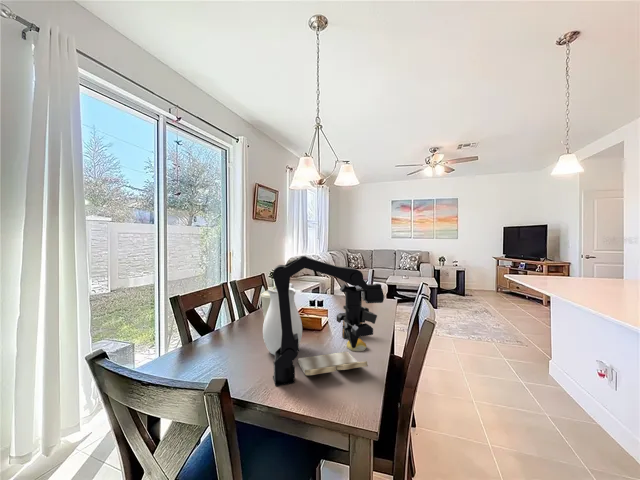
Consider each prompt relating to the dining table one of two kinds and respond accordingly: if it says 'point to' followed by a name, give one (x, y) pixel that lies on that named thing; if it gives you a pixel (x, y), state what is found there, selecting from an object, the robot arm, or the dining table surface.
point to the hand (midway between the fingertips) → (353, 347)
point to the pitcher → (279, 321)
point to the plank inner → (320, 370)
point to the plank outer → (351, 365)
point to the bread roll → (357, 346)
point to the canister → (266, 301)
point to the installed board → (325, 361)
